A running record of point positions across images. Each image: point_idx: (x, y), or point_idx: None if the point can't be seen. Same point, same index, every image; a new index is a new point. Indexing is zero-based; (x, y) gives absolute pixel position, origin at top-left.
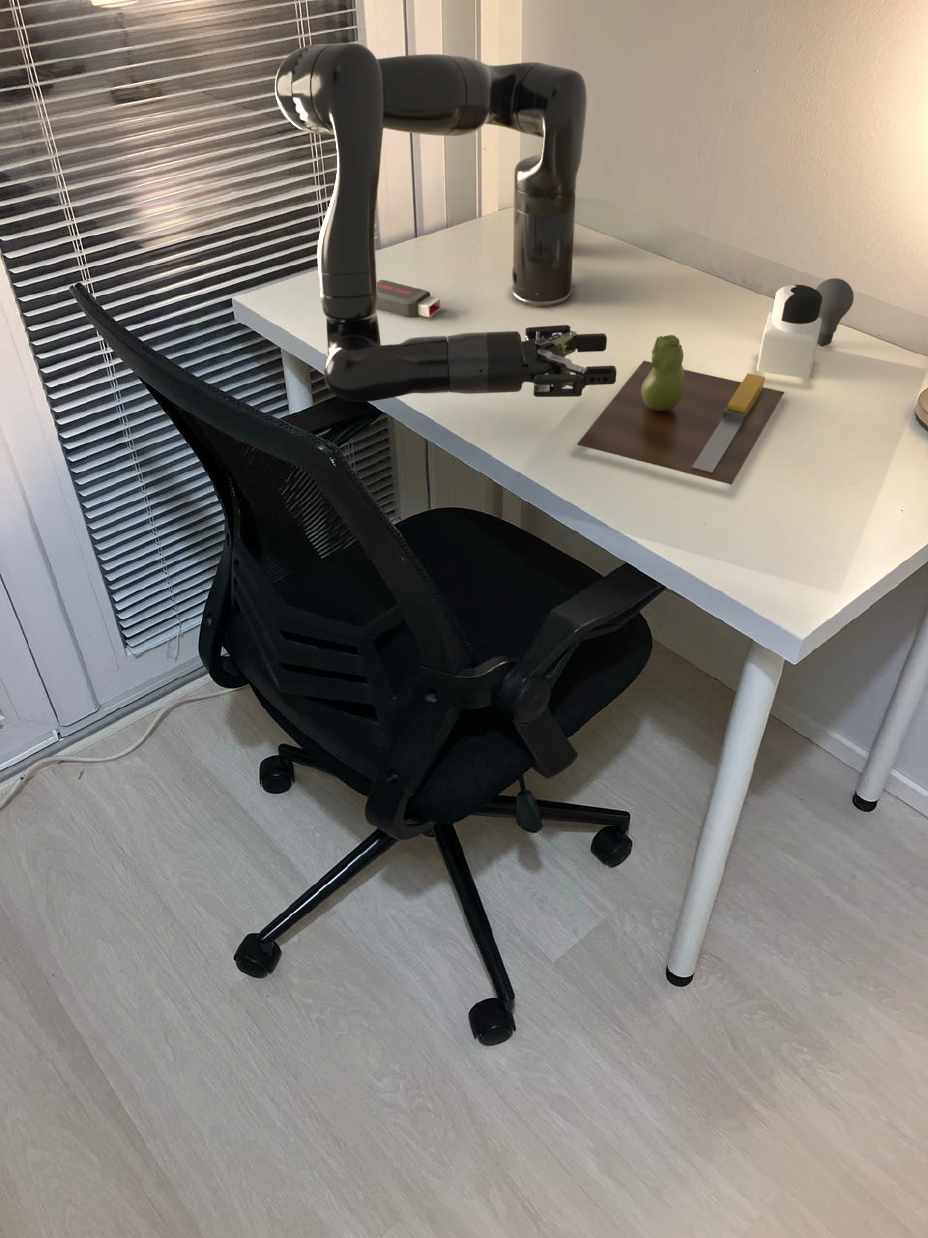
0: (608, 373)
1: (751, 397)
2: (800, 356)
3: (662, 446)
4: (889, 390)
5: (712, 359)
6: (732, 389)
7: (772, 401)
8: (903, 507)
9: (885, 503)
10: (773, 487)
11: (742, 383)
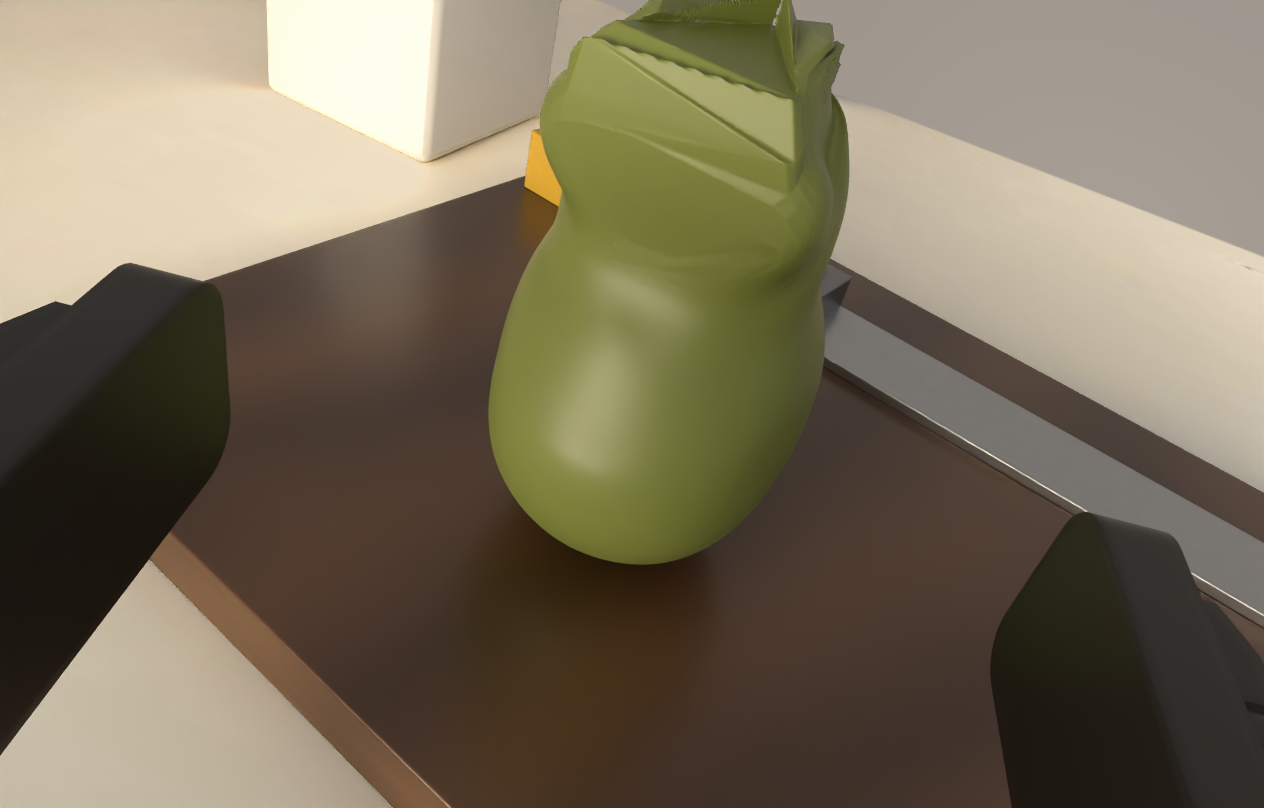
0: (1231, 649)
1: None
2: (538, 3)
3: None
4: None
5: (163, 177)
6: (541, 226)
7: None
8: (1230, 258)
9: (1222, 274)
10: (1219, 442)
11: None
